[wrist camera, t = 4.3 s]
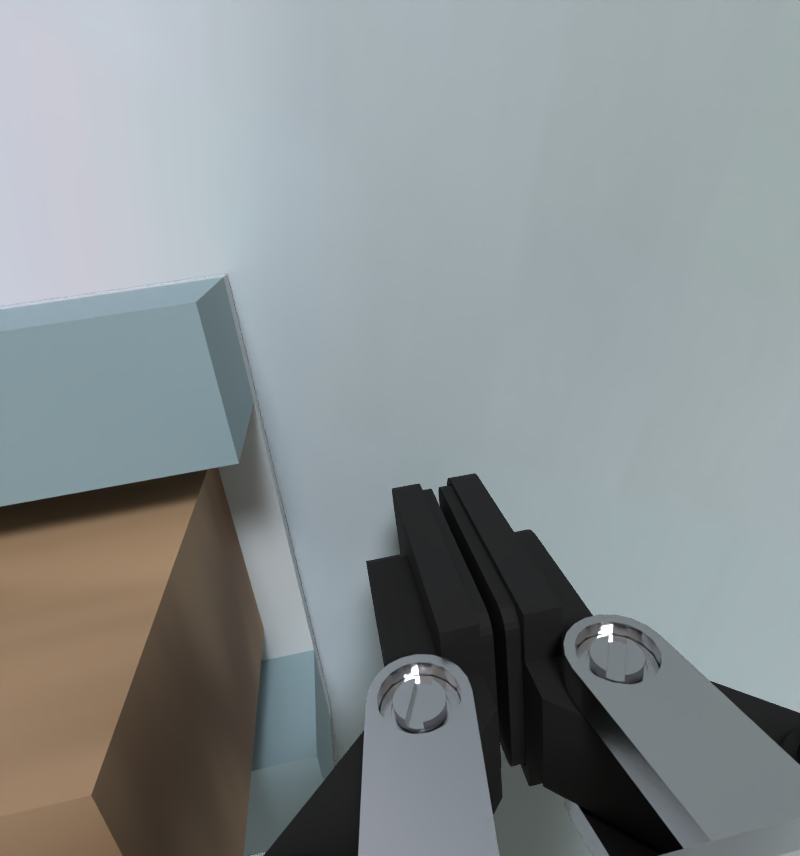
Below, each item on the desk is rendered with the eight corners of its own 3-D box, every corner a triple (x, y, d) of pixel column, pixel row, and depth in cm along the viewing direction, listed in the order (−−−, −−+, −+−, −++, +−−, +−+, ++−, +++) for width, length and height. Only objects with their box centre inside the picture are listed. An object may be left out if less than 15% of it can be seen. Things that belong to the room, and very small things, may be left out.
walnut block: (264, 629, 13) (226, 1054, 6) (-9, 687, 12) (-353, 1221, 6) (213, 452, 11) (90, 795, 5) (-109, 510, 10) (-765, 995, 4)
